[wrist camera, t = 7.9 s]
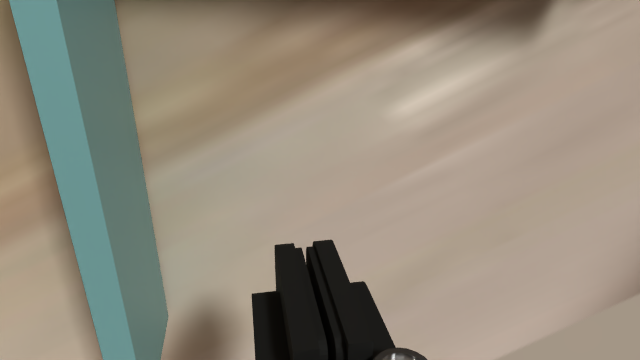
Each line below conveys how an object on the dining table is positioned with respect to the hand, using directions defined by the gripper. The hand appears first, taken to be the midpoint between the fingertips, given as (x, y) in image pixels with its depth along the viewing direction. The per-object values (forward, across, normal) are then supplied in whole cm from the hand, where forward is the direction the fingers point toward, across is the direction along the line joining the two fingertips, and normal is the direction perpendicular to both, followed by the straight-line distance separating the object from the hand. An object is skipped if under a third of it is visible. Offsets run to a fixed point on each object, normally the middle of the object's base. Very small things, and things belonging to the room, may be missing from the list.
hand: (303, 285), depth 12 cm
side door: (+8, +6, -3) cm, 10 cm away
